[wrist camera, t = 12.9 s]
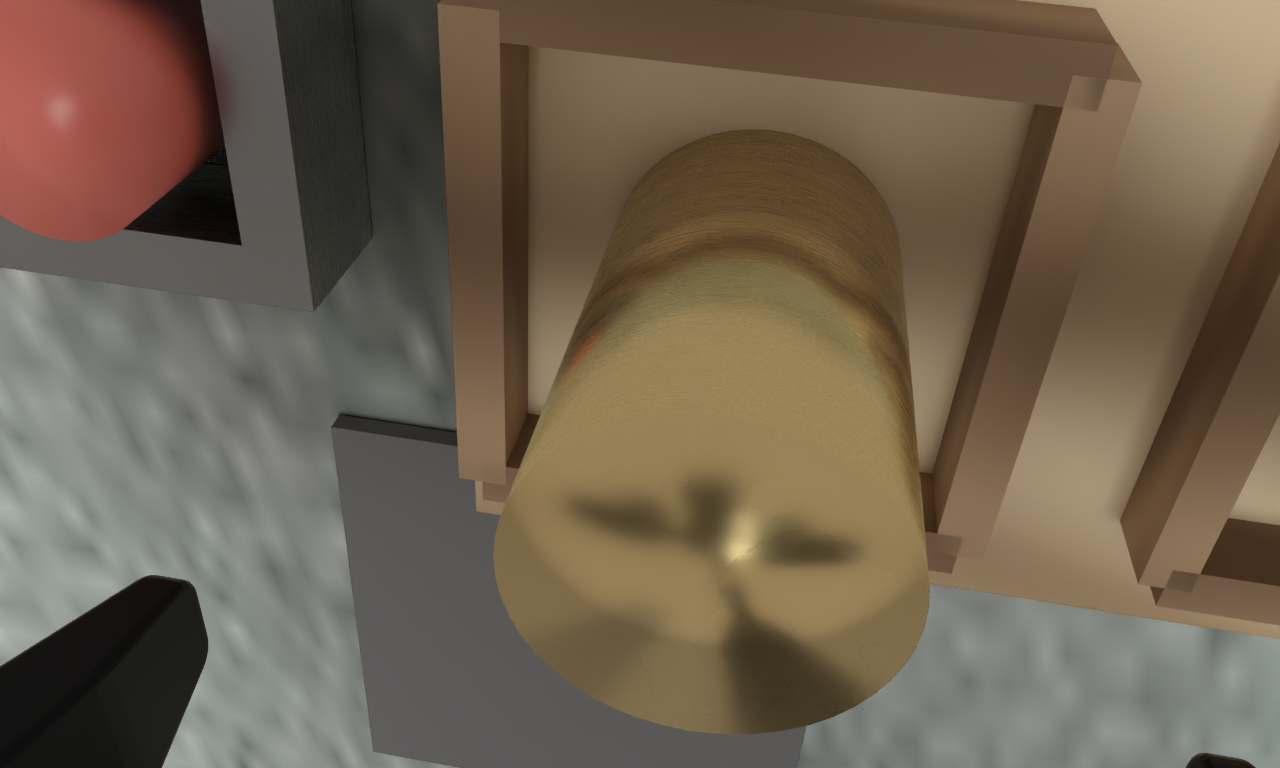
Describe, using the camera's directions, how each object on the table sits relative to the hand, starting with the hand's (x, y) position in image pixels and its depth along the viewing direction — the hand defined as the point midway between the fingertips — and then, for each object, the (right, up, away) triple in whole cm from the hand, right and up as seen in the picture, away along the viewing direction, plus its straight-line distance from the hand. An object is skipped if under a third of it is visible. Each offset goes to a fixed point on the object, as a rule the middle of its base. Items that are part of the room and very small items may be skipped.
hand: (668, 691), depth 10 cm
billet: (+1, +5, +7) cm, 9 cm away
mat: (-1, -3, +14) cm, 14 cm away
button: (-8, +8, +7) cm, 13 cm away
